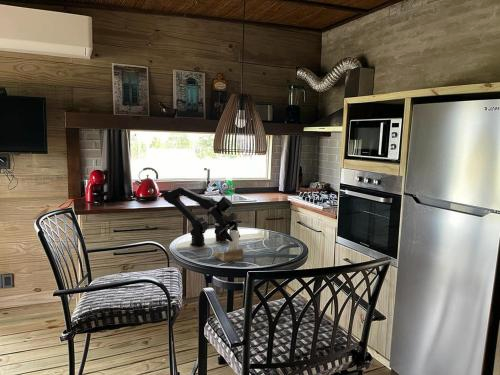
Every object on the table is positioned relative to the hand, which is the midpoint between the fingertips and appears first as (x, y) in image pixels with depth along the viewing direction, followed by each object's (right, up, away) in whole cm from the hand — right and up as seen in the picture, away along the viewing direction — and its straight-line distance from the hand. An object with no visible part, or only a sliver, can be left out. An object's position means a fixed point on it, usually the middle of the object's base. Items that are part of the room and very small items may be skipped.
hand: (235, 239), depth 213 cm
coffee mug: (-11, -4, +21) cm, 24 cm away
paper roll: (-1, -7, +1) cm, 7 cm away
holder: (-4, -8, -11) cm, 14 cm away
